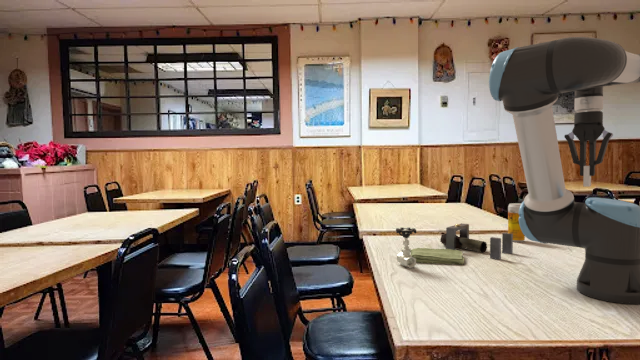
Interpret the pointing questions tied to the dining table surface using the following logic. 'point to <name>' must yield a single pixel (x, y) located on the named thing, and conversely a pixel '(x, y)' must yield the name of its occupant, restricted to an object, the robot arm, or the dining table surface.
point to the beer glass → (514, 222)
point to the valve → (406, 248)
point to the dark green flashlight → (467, 244)
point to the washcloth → (437, 256)
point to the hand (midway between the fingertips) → (587, 186)
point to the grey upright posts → (494, 242)
